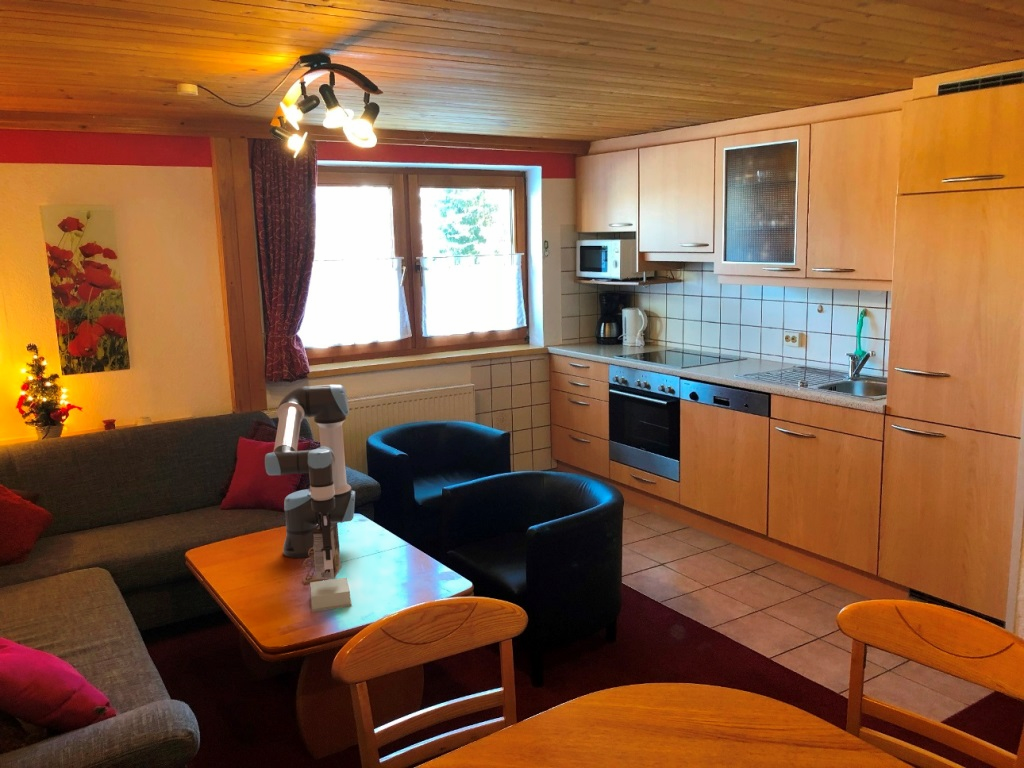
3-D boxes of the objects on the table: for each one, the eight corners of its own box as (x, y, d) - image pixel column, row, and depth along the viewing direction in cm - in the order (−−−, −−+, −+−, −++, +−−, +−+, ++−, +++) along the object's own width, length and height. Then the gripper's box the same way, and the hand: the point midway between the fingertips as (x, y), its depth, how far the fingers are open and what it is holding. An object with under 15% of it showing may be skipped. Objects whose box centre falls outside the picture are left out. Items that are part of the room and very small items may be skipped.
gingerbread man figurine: (304, 585, 283) (301, 552, 281) (301, 581, 286) (298, 548, 284) (329, 579, 287) (327, 546, 285) (326, 575, 290) (323, 543, 288)
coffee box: (322, 568, 271) (318, 522, 269) (341, 568, 271) (338, 521, 269) (315, 579, 262) (311, 531, 260) (334, 579, 262) (331, 531, 260)
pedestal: (310, 596, 273) (309, 582, 272) (348, 590, 276) (347, 576, 275) (311, 611, 261) (310, 597, 260) (351, 606, 264) (350, 591, 263)
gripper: (309, 489, 273) (314, 552, 276) (312, 508, 251) (317, 577, 254) (332, 486, 275) (337, 549, 278) (337, 505, 253) (342, 573, 256)
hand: (327, 562), depth 266 cm, fingers closed on coffee box, 10 cm apart
